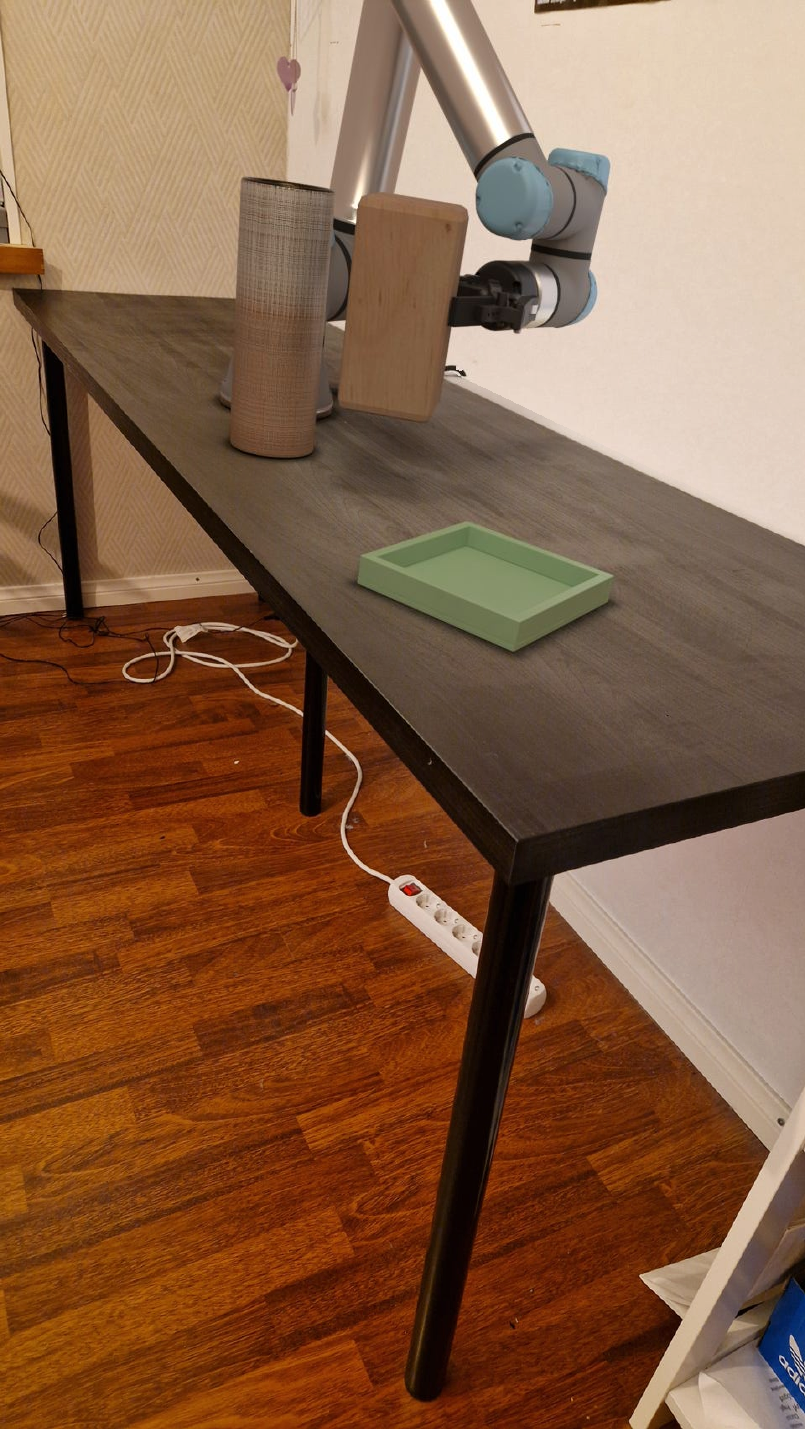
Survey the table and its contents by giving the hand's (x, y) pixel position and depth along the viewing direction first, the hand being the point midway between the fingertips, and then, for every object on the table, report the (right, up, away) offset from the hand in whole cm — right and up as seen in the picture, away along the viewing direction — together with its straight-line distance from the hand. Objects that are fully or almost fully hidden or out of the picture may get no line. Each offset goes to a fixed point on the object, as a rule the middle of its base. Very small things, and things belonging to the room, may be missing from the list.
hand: (399, 298), depth 98 cm
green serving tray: (+7, -32, -14) cm, 35 cm away
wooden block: (-1, -9, +6) cm, 11 cm away
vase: (-15, -11, +17) cm, 25 cm away
